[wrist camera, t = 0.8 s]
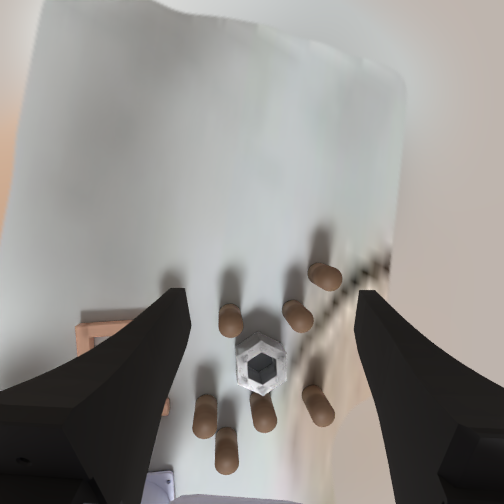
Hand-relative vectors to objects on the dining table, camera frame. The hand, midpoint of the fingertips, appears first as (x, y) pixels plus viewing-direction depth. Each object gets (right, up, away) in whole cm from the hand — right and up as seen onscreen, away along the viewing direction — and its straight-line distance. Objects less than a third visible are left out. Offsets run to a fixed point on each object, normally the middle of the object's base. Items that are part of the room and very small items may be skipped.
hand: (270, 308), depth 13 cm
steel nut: (0, -9, +22) cm, 24 cm away
